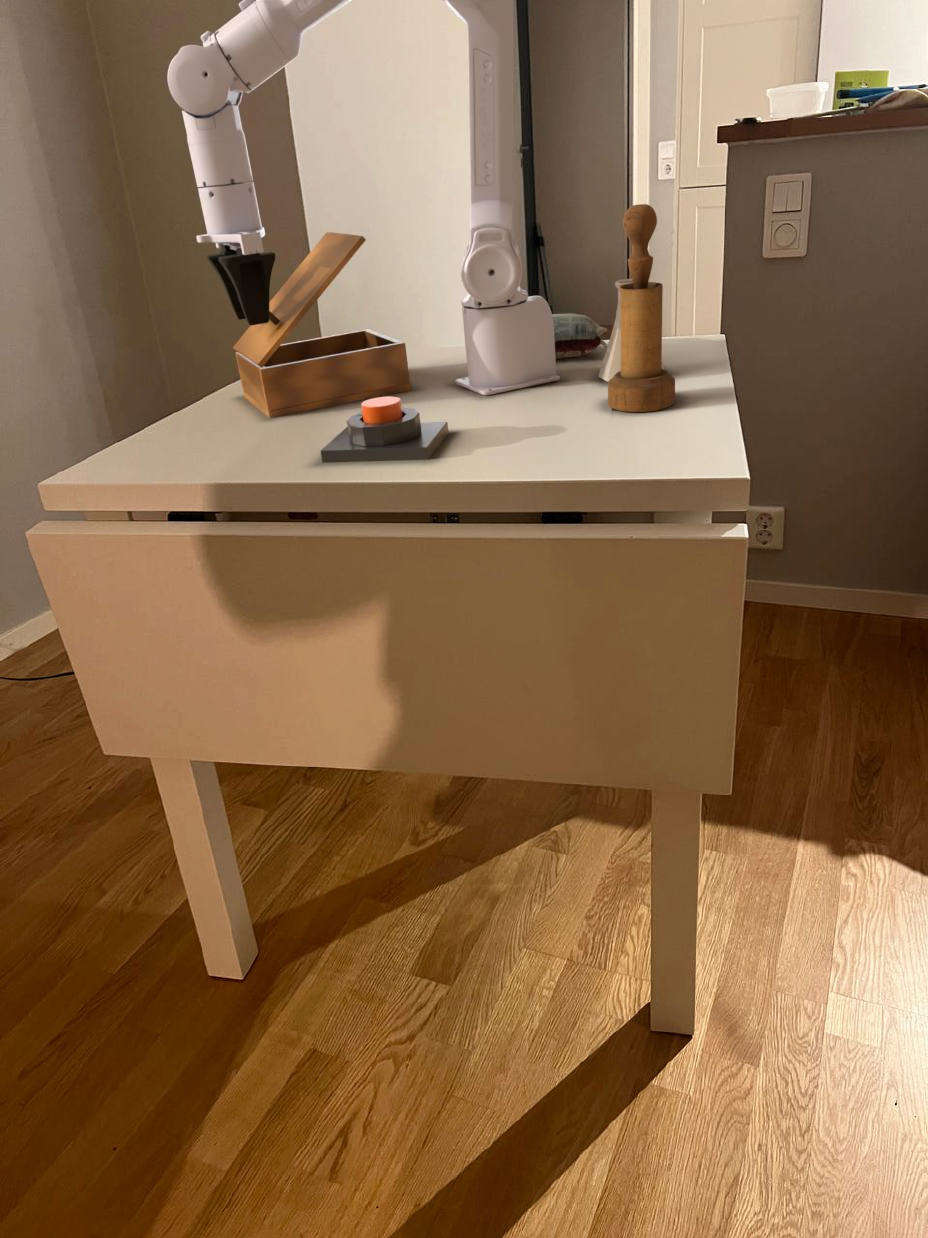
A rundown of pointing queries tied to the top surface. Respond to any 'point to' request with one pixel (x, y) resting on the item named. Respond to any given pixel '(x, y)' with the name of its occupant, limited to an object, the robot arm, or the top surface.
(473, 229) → the robot arm
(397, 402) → the button
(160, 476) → the top surface
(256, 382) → the wooden box
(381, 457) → the switch block
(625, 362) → the mortar and pestle
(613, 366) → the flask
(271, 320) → the lid
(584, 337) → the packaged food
